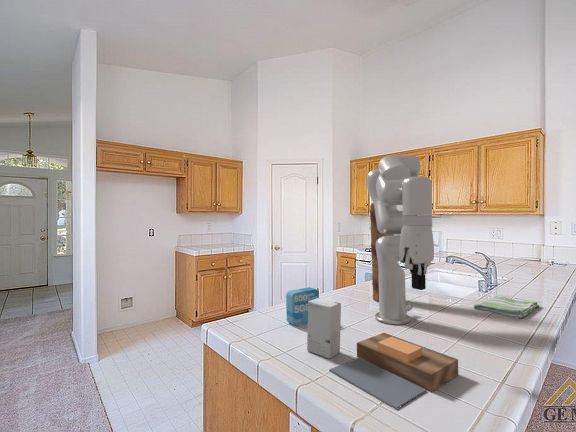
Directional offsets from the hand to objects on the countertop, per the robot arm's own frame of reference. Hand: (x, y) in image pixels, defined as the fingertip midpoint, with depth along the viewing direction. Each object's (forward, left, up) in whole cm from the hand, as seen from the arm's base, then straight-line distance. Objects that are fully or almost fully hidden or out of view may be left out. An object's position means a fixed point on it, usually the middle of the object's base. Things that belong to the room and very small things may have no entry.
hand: (418, 288), depth 86 cm
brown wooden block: (+7, 0, -19) cm, 20 cm away
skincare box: (+18, -19, -20) cm, 33 cm away
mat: (+19, 0, -19) cm, 27 cm away
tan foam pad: (+9, 0, -15) cm, 18 cm away
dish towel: (-69, -4, -20) cm, 72 cm away
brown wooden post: (-40, -43, -20) cm, 62 cm away
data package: (+7, -43, -20) cm, 48 cm away
